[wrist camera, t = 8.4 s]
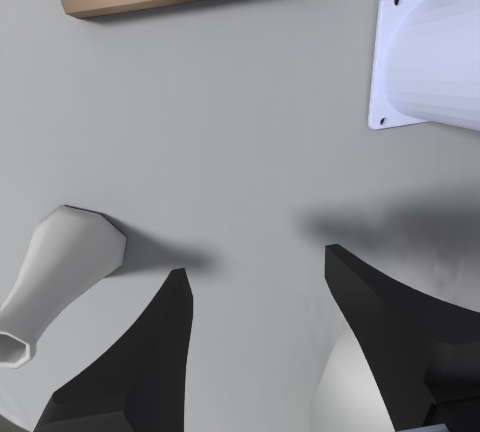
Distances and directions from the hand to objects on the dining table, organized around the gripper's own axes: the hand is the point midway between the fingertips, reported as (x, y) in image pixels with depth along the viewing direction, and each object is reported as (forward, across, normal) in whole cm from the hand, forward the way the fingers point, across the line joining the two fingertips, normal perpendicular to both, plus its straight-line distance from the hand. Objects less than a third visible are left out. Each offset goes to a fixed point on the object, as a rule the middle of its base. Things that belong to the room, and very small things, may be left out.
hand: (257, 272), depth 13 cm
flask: (+10, +14, +2) cm, 17 cm away
